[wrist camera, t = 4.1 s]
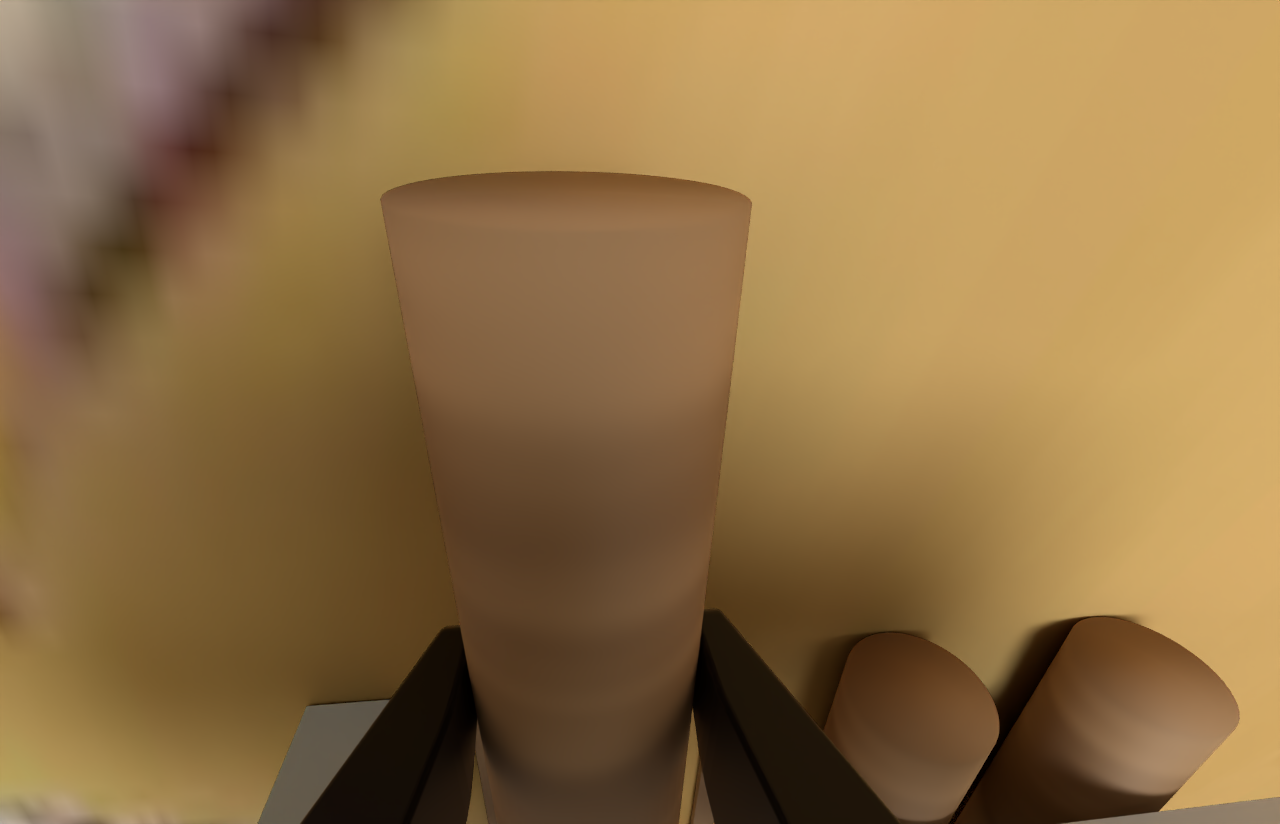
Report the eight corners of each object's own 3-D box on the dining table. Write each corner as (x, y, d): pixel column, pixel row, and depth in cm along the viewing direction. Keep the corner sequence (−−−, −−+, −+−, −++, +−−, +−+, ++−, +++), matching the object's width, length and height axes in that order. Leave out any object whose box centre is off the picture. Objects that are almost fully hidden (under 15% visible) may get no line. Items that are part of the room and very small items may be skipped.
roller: (660, 777, 12) (684, 964, 10) (517, 791, 12) (502, 989, 9) (708, 173, 6) (807, 232, 4) (426, 169, 6) (317, 230, 3)
